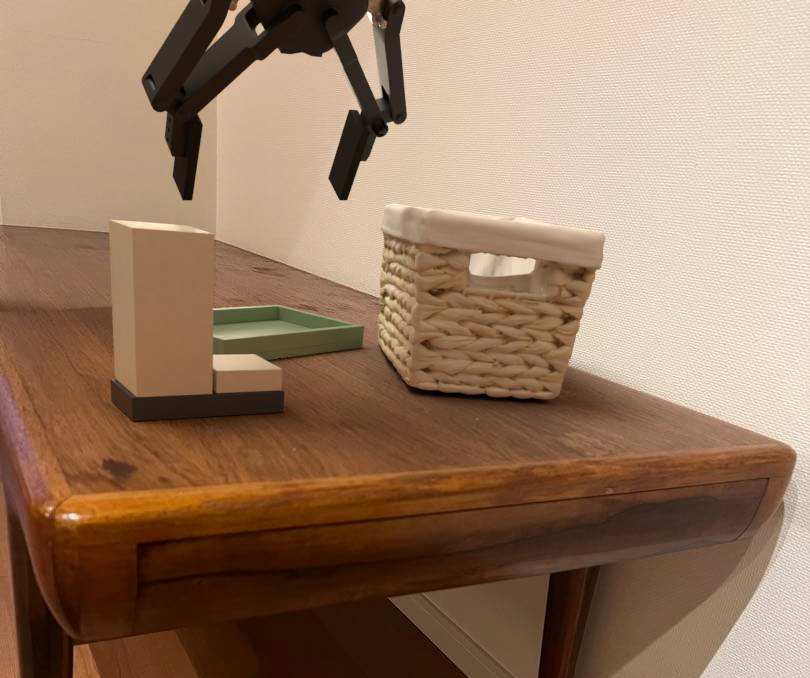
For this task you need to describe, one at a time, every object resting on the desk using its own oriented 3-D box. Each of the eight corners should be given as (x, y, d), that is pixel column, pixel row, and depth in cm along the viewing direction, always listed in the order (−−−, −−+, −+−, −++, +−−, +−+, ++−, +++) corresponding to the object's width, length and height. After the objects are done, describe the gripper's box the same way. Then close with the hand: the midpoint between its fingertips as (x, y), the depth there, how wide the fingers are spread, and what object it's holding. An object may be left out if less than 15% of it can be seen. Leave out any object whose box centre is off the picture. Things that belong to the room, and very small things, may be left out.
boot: (132, 421, 51) (126, 227, 46) (111, 401, 55) (103, 218, 50) (283, 412, 57) (292, 239, 53) (255, 394, 61) (261, 231, 56)
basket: (366, 340, 87) (380, 197, 81) (505, 353, 90) (528, 216, 84) (398, 397, 66) (419, 208, 60) (578, 410, 69) (616, 232, 63)
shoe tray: (132, 337, 75) (132, 313, 74) (277, 325, 90) (278, 304, 89) (223, 366, 68) (224, 339, 67) (362, 347, 83) (364, 325, 82)
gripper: (138, -109, 40) (121, 223, 57) (520, -38, 52) (410, 219, 69) (99, -189, 42) (94, 152, 60) (473, -104, 54) (378, 160, 71)
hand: (263, 189), depth 64 cm, fingers open, 13 cm apart
